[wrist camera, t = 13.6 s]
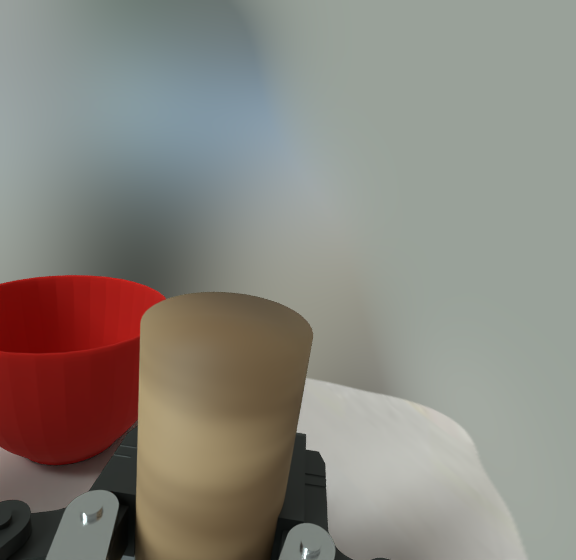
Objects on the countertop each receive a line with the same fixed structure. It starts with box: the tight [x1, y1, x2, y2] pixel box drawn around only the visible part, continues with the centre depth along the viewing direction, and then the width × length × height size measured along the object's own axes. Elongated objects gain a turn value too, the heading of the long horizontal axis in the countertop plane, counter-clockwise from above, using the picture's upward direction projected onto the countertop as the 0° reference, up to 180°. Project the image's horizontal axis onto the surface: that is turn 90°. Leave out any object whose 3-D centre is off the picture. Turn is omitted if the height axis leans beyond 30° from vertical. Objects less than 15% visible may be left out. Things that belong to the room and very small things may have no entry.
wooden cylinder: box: [135, 292, 313, 560], centre depth 12 cm, size 4×4×15 cm
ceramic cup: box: [0, 275, 166, 465], centre depth 28 cm, size 13×17×10 cm
